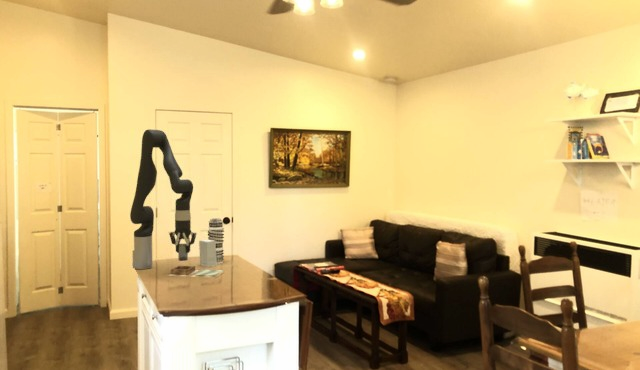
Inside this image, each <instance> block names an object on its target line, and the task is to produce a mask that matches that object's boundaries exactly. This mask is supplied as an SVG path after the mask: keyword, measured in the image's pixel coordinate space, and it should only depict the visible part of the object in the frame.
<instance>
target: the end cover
mask: <svg viewBox="0 0 640 370" xmlns="http://www.w3.org/2000/svg"><path fill="white" fill-rule="evenodd" d="M186 246H187V244H186V243H180V244H178V254H177V255H178V262H186V261H189V256H188V255H189V253H186Z"/></svg>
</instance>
